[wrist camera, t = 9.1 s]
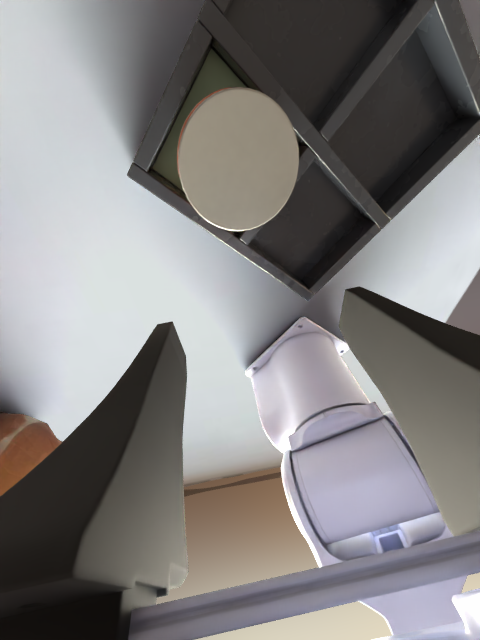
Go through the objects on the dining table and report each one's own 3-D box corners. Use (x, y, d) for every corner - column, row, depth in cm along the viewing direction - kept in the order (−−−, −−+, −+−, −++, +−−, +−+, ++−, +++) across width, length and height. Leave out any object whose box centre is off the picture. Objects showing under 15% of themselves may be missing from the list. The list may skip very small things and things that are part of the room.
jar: (233, 216, 17) (249, 254, 12) (166, 165, 15) (151, 185, 10) (282, 146, 15) (327, 155, 10) (213, 73, 13) (226, 36, 7)
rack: (299, 288, 22) (308, 301, 20) (134, 170, 15) (126, 175, 13) (467, 115, 16) (500, 114, 14) (317, -230, 9) (347, -318, 7)
